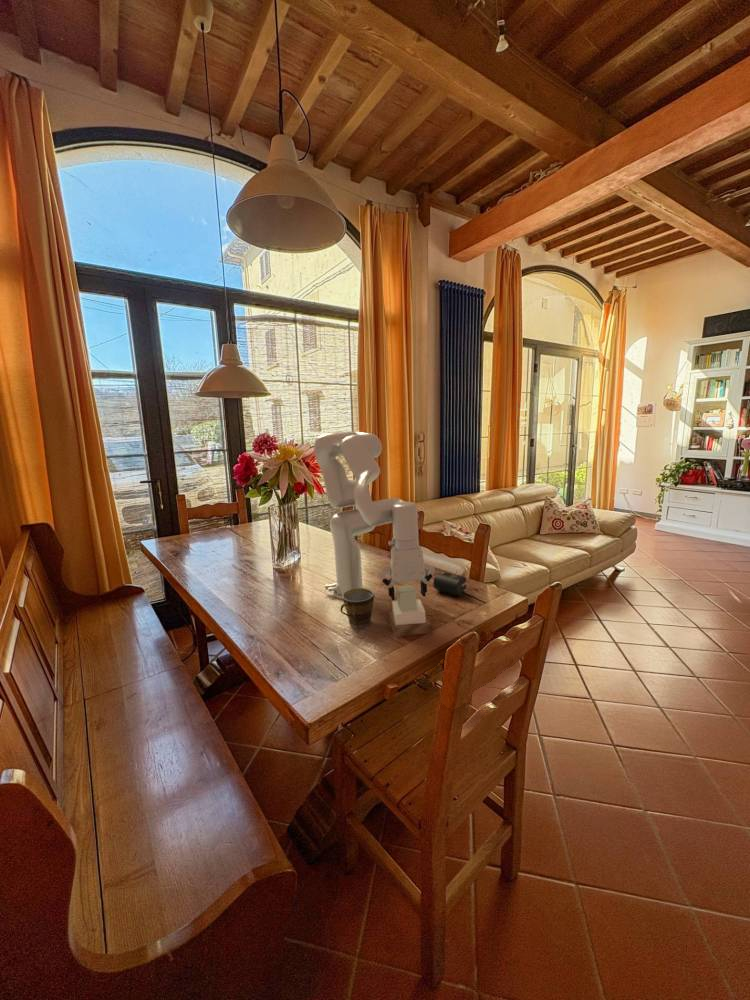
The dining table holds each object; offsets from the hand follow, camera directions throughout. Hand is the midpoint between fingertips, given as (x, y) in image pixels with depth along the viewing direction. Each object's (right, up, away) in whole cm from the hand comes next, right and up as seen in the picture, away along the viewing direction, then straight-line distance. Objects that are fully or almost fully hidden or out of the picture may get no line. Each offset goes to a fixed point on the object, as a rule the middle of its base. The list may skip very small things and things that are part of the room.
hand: (407, 596), depth 124 cm
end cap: (+18, -5, +24) cm, 30 cm away
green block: (0, -3, 0) cm, 3 cm away
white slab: (0, -7, +1) cm, 7 cm away
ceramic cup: (-16, -10, +4) cm, 19 cm away
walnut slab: (+1, -10, +2) cm, 10 cm away
